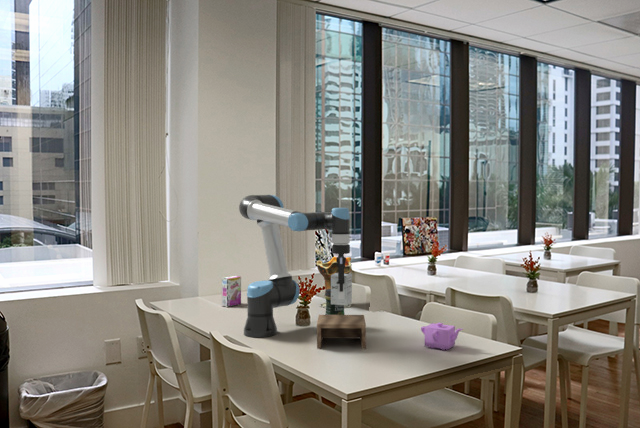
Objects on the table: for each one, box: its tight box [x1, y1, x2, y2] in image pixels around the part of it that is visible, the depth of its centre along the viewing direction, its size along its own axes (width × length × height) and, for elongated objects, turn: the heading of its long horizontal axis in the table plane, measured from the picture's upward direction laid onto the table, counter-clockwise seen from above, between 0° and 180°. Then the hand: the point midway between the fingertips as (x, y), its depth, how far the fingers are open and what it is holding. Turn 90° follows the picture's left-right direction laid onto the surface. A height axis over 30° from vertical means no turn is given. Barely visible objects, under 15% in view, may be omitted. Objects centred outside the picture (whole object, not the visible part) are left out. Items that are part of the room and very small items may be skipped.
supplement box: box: [331, 273, 353, 306], centre depth 232 cm, size 7×7×13 cm
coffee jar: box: [324, 289, 346, 315], centre depth 261 cm, size 10×8×19 cm
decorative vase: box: [316, 256, 353, 309], centre depth 310 cm, size 21×23×28 cm
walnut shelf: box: [316, 314, 367, 350], centre depth 233 cm, size 20×18×10 cm
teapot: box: [420, 322, 463, 351], centre depth 224 cm, size 18×14×10 cm
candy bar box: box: [221, 275, 242, 307], centre depth 313 cm, size 11×5×16 cm, turn 144°
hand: (341, 296), depth 232 cm, fingers closed on supplement box, 9 cm apart
